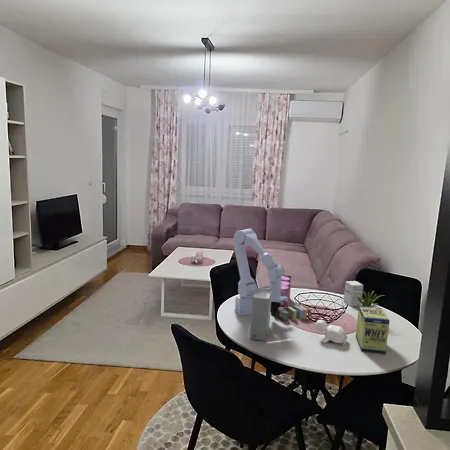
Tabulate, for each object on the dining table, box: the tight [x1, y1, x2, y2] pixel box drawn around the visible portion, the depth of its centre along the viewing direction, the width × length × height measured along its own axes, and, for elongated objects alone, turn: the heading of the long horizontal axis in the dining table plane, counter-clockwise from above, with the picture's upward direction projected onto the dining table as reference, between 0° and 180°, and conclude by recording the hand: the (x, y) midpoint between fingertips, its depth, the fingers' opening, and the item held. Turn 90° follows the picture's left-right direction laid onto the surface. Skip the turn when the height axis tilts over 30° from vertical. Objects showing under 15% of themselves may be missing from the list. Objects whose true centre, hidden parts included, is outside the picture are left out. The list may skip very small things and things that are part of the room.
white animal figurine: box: [315, 319, 349, 346], centre depth 188 cm, size 9×8×15 cm
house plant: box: [356, 289, 386, 308], centre depth 212 cm, size 14×14×16 cm
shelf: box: [274, 303, 312, 324], centre depth 211 cm, size 17×8×6 cm, turn 112°
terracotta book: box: [299, 304, 308, 320], centre depth 212 cm, size 2×6×5 cm, turn 22°
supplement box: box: [342, 280, 364, 307], centre depth 236 cm, size 7×7×13 cm
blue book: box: [294, 305, 304, 321], centre depth 212 cm, size 2×6×5 cm, turn 22°
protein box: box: [355, 306, 390, 355], centre depth 184 cm, size 10×16×16 cm
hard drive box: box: [249, 286, 272, 342], centre depth 190 cm, size 16×8×20 cm, turn 168°
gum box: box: [279, 274, 292, 308], centre depth 230 cm, size 24×8×14 cm, turn 169°
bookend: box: [278, 308, 289, 323], centre depth 208 cm, size 3×6×4 cm, turn 22°
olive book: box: [287, 306, 297, 322], centre depth 210 cm, size 2×6×5 cm, turn 22°
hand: (273, 315), depth 206 cm, fingers closed
